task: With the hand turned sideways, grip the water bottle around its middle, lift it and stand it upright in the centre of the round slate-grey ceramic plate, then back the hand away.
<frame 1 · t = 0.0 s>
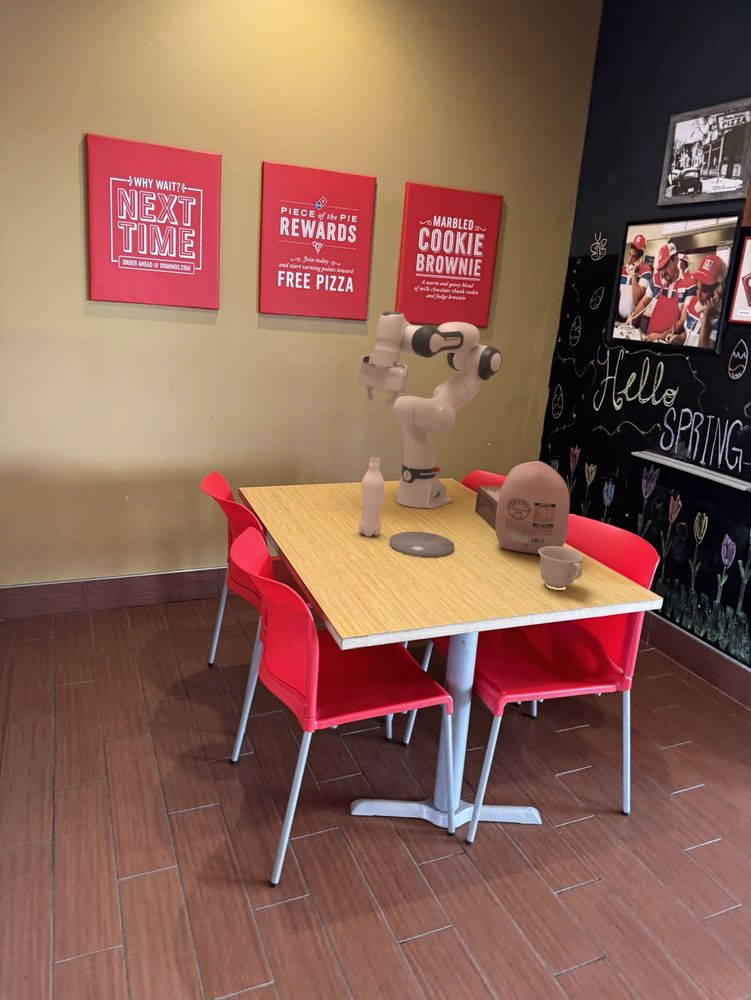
hand: (379, 402, 242), 39 cm above the table, tool pointing down, fingers open, 8 cm apart
packaged food: (527, 553, 225), on the table
teacup: (558, 589, 198), on the table
tissue box cover: (505, 523, 254), on the table
plate: (421, 545, 224), on the table
water bottle: (369, 534, 231), on the table
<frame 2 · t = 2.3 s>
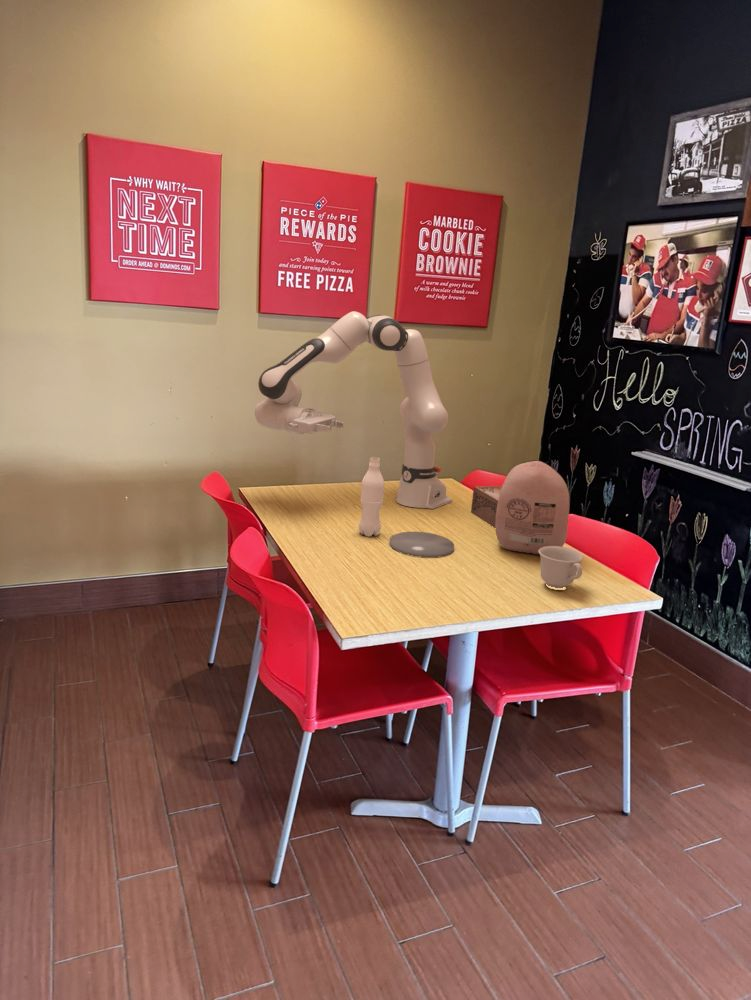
hand: (336, 427, 238), 31 cm above the table, tool horizontal, fingers open, 8 cm apart
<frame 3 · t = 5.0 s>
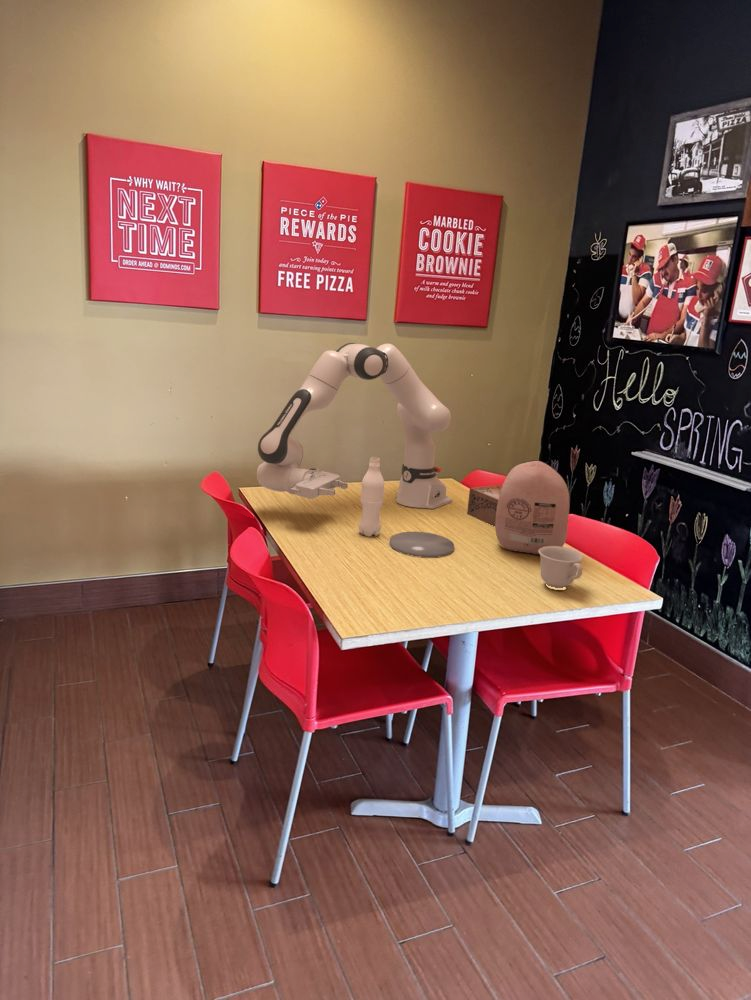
hand: (340, 489, 231), 13 cm above the table, tool horizontal, fingers open, 8 cm apart
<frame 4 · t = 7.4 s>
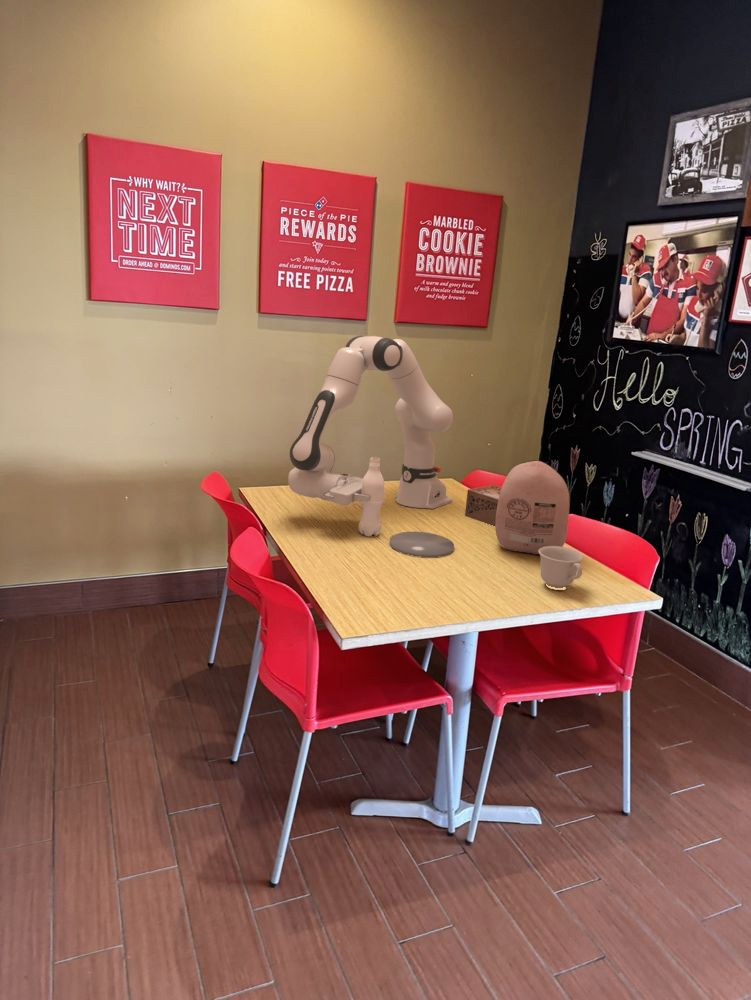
hand: (374, 495, 227), 13 cm above the table, tool horizontal, fingers closed on water bottle, 7 cm apart
water bottle: (369, 534, 231), on the table, touching gripper
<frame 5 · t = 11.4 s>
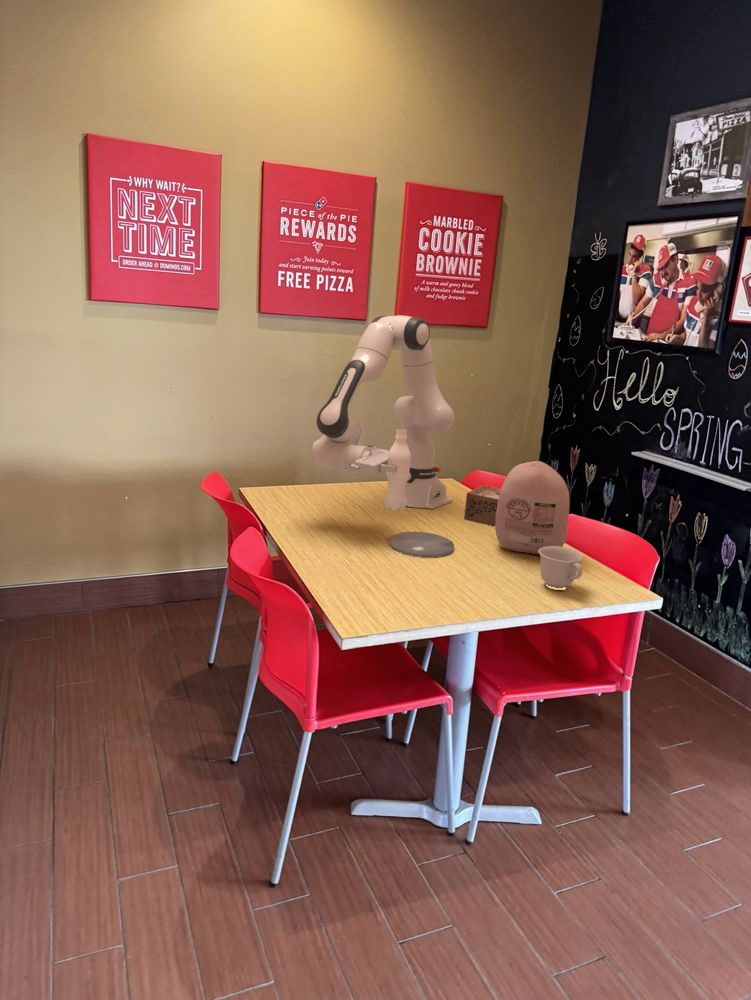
hand: (401, 466, 221), 24 cm above the table, tool horizontal, fingers closed on water bottle, 7 cm apart
water bottle: (394, 509, 225), point 10 cm above the table, touching gripper
when the fingers open (17 cm above the table, at t = 15.5 s): water bottle drops 1 cm, resting on plate.
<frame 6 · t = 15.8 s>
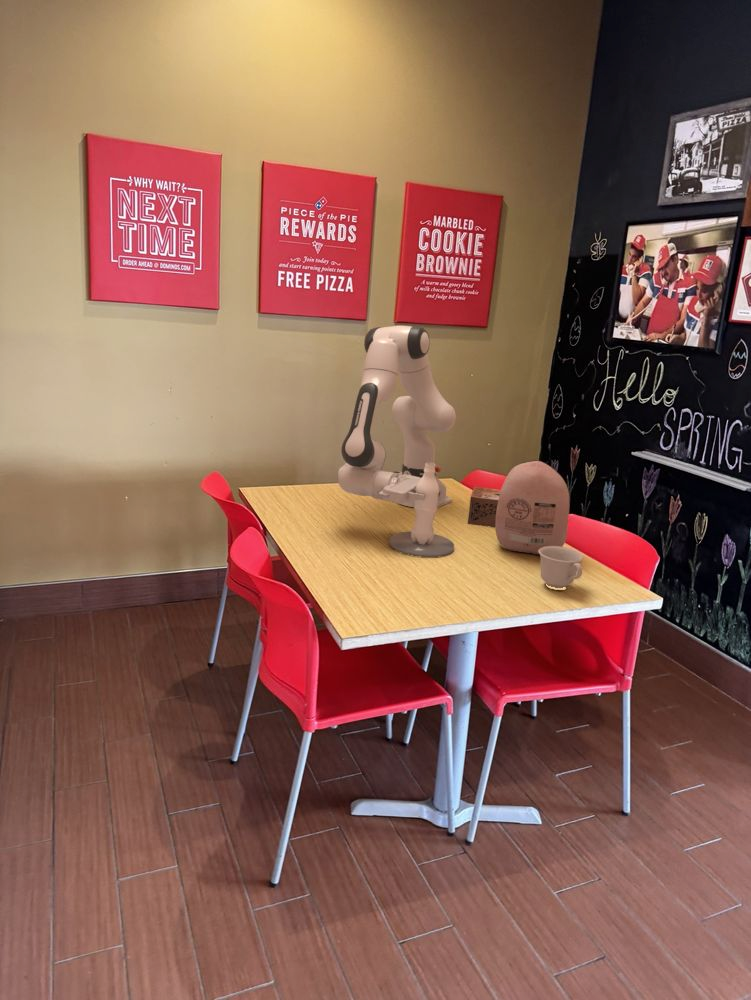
hand: (429, 493, 219), 17 cm above the table, tool horizontal, fingers open, 8 cm apart
water bottle: (421, 542, 223), point 1 cm above the table, touching plate
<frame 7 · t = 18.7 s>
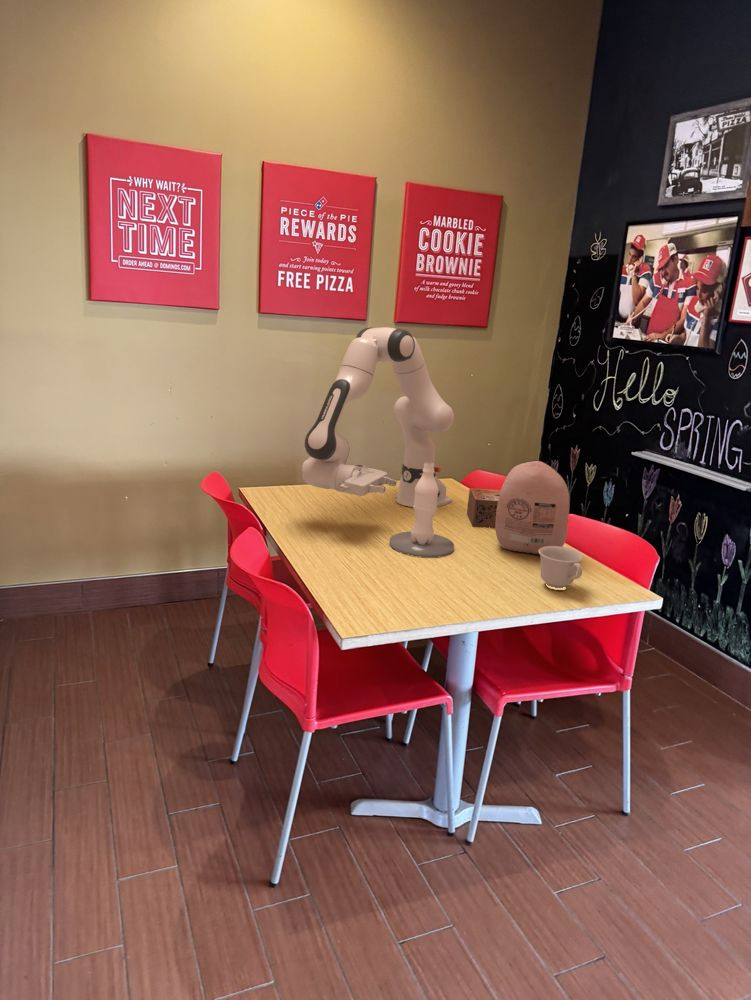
hand: (390, 486, 223), 17 cm above the table, tool horizontal, fingers open, 8 cm apart
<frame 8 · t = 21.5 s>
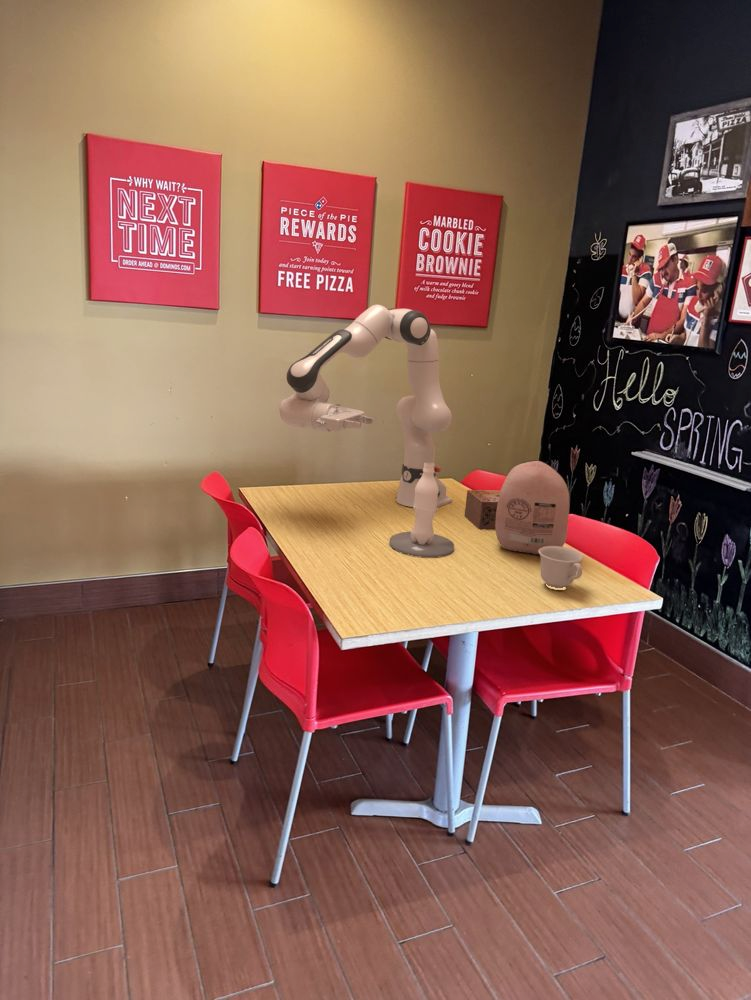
hand: (366, 423, 224), 35 cm above the table, tool horizontal, fingers open, 8 cm apart
at the end: water bottle inside the target area on the plate (0.1 cm from its centre), point 1.0 cm above the plate's base; water bottle tilted 0°; the gripper is holding nothing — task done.
